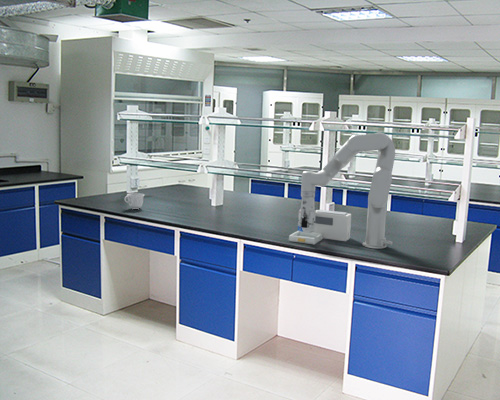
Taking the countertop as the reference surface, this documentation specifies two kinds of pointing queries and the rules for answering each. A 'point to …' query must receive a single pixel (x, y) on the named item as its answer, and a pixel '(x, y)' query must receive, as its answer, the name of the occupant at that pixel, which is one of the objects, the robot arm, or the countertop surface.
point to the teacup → (135, 200)
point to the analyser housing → (333, 224)
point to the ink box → (310, 222)
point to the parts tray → (305, 237)
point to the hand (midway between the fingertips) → (306, 226)
